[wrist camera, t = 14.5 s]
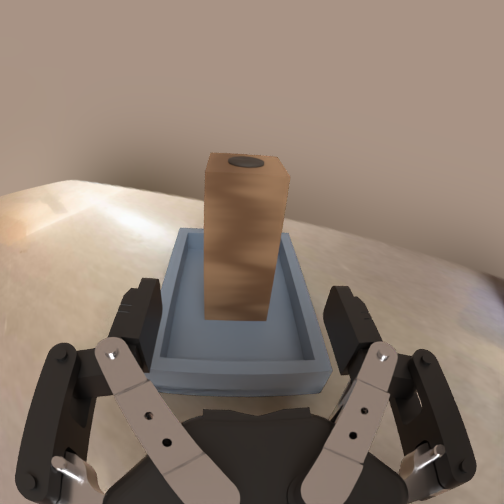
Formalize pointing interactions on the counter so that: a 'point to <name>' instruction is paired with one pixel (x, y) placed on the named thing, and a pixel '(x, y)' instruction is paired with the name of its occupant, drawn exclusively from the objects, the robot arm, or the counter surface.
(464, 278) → the counter surface
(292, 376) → the slate tray
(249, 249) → the walnut block
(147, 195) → the counter surface
